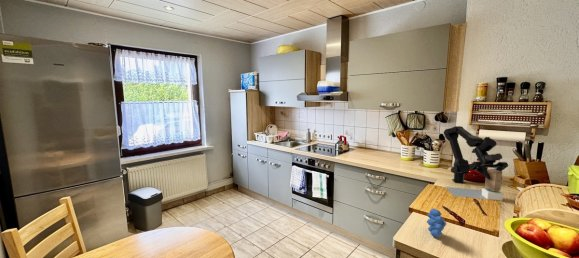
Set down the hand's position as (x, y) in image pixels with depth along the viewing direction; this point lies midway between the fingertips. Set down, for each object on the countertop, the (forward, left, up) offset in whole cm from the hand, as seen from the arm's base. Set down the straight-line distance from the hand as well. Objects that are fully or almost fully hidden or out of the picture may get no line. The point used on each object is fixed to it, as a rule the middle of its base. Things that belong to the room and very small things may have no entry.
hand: (495, 179), depth 136 cm
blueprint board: (-6, -8, -12) cm, 16 cm away
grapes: (+52, -42, -12) cm, 68 cm away
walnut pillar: (-1, 0, -6) cm, 7 cm away
